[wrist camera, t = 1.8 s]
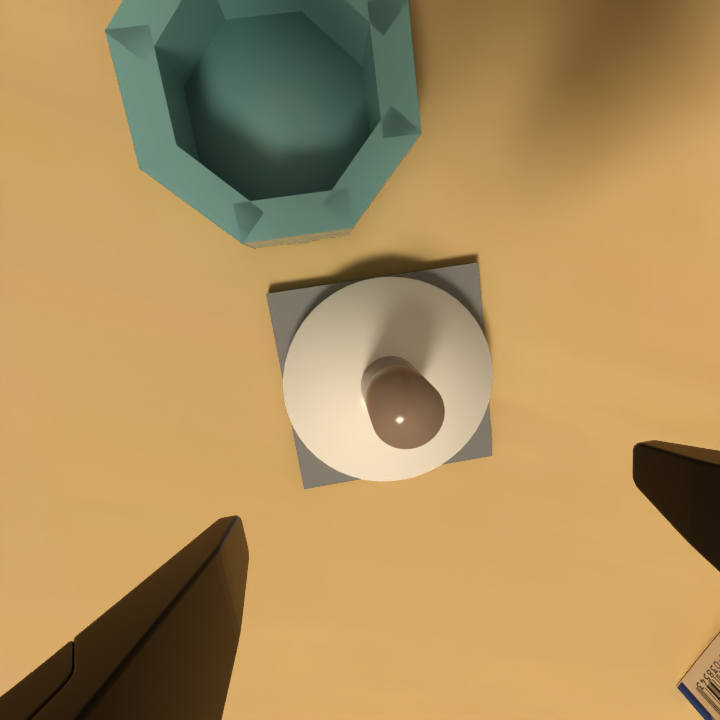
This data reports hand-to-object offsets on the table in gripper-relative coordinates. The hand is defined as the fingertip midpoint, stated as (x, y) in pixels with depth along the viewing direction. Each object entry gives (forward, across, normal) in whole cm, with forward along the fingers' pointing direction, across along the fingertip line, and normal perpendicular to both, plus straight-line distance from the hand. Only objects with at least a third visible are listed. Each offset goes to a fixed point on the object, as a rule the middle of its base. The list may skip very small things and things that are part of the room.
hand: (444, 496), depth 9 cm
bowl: (+11, +3, -12) cm, 16 cm away
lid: (+11, 0, 0) cm, 11 cm away
